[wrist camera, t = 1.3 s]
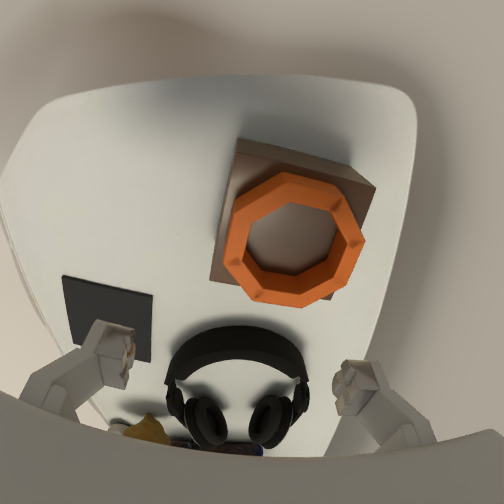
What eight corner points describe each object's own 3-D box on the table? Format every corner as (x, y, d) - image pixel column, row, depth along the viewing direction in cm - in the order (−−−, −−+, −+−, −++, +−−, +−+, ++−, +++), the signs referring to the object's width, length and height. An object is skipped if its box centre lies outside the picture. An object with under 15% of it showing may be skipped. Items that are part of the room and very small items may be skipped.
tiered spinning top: (134, 421, 46) (125, 460, 39) (141, 437, 49) (134, 472, 42) (105, 416, 45) (95, 453, 38) (115, 432, 49) (106, 466, 42)
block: (237, 137, 24) (235, 151, 19) (350, 166, 26) (376, 188, 21) (214, 243, 29) (209, 280, 24) (316, 262, 30) (330, 300, 25)
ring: (243, 162, 20) (243, 172, 17) (366, 193, 21) (379, 206, 19) (218, 275, 24) (216, 295, 22) (326, 294, 25) (333, 313, 23)
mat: (62, 275, 30) (61, 277, 30) (152, 295, 32) (151, 297, 32) (74, 341, 36) (73, 343, 35) (150, 360, 37) (150, 363, 37)
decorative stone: (169, 403, 42) (156, 491, 29) (182, 422, 45) (173, 503, 32) (115, 403, 43) (95, 482, 30) (131, 421, 46) (116, 495, 33)
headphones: (180, 459, 36) (142, 362, 29) (185, 419, 44) (158, 318, 36) (306, 455, 37) (322, 356, 29) (299, 415, 44) (308, 312, 36)
